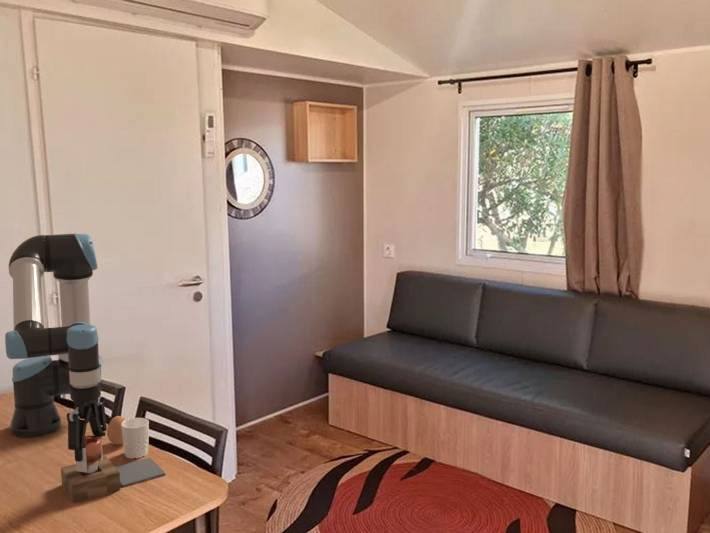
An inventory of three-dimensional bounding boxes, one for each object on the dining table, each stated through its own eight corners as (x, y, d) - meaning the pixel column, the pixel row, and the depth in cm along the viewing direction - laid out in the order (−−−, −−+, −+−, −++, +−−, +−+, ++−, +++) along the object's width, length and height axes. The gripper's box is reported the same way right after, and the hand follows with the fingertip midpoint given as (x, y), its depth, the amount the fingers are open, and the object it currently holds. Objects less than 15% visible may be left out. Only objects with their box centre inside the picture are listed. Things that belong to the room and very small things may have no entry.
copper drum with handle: (108, 481, 183) (105, 434, 180) (94, 492, 176) (91, 443, 174) (87, 478, 184) (84, 431, 182) (73, 489, 178) (70, 441, 175)
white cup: (141, 461, 196) (140, 429, 194) (117, 458, 198) (116, 426, 196) (154, 449, 204) (153, 418, 202) (131, 447, 205) (130, 416, 204)
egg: (123, 449, 203) (122, 421, 202) (103, 447, 205) (102, 419, 203) (134, 440, 210) (132, 413, 208) (114, 438, 211) (113, 411, 210)
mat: (109, 470, 190) (109, 468, 190) (150, 459, 197) (150, 457, 197) (122, 487, 180) (122, 485, 180) (165, 474, 188) (165, 472, 188)
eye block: (61, 484, 181) (60, 467, 180) (106, 472, 189) (105, 456, 188) (73, 503, 172) (72, 485, 171) (120, 489, 179) (119, 472, 178)
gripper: (94, 371, 185) (98, 448, 189) (48, 394, 167) (54, 480, 171) (118, 373, 184) (121, 451, 188) (74, 397, 165) (80, 483, 169)
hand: (89, 464), depth 179 cm, fingers closed on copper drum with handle, 6 cm apart
